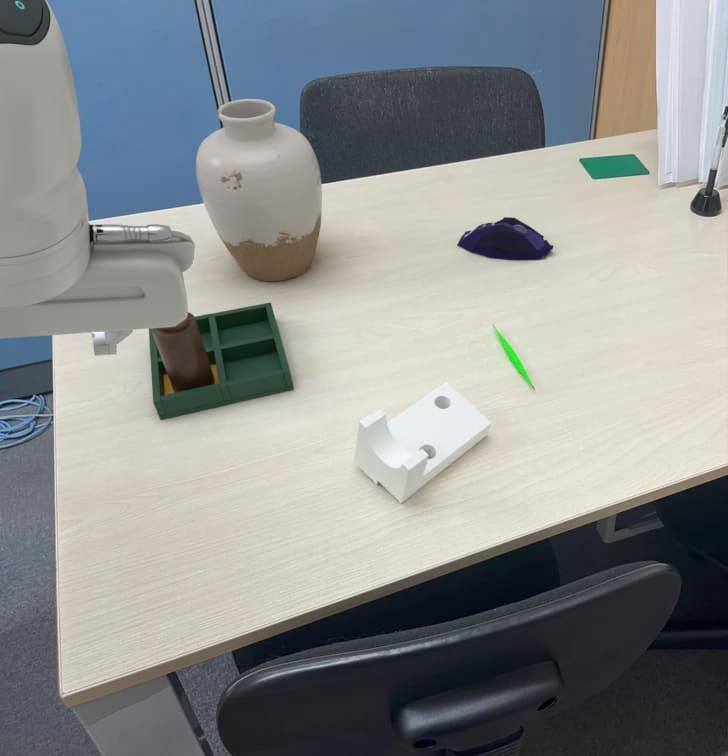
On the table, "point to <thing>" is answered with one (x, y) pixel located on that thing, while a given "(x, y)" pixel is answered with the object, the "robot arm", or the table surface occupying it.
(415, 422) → the bracket
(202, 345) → the brown lidded canister
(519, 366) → the leaf
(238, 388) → the grid
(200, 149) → the vase
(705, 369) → the table surface
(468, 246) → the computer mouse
